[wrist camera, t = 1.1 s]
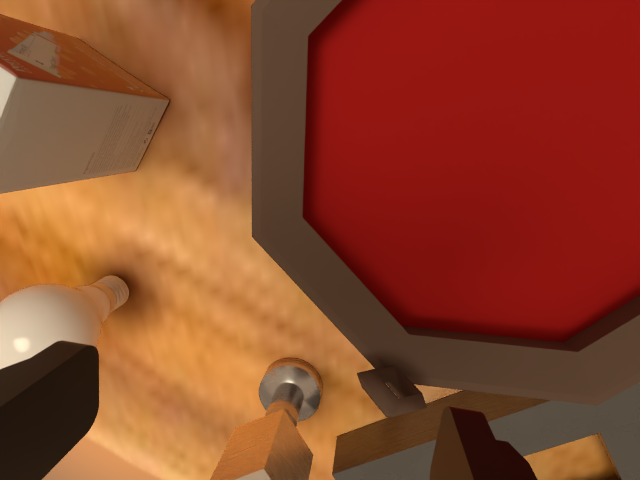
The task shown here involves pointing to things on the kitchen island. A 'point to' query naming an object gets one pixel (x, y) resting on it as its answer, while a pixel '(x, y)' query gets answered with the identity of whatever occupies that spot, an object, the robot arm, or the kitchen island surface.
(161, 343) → the kitchen island surface
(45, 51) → the small box
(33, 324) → the lightbulb
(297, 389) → the keyhole peg
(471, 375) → the brown cooking pot
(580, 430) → the keyhole plate
